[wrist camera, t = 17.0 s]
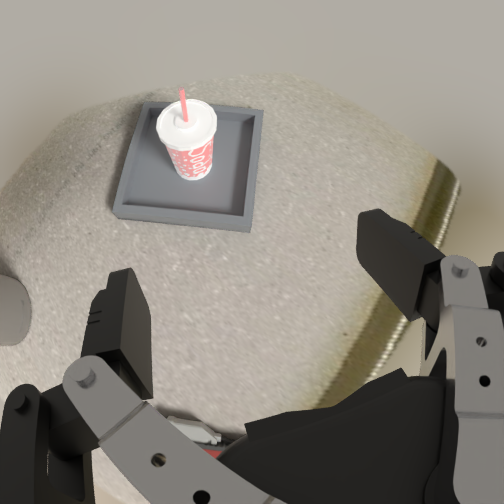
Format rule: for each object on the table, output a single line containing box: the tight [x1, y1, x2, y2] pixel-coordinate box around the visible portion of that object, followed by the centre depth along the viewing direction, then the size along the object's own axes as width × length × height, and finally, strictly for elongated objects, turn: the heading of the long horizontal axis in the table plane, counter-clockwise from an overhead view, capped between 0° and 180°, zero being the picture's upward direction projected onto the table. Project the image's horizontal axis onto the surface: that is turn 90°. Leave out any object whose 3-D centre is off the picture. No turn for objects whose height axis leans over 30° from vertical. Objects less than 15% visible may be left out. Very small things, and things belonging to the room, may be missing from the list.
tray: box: [112, 102, 264, 233], centre depth 37 cm, size 16×16×2 cm
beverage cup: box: [156, 87, 217, 180], centre depth 31 cm, size 6×6×14 cm
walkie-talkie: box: [167, 416, 236, 458], centre depth 29 cm, size 9×4×20 cm
